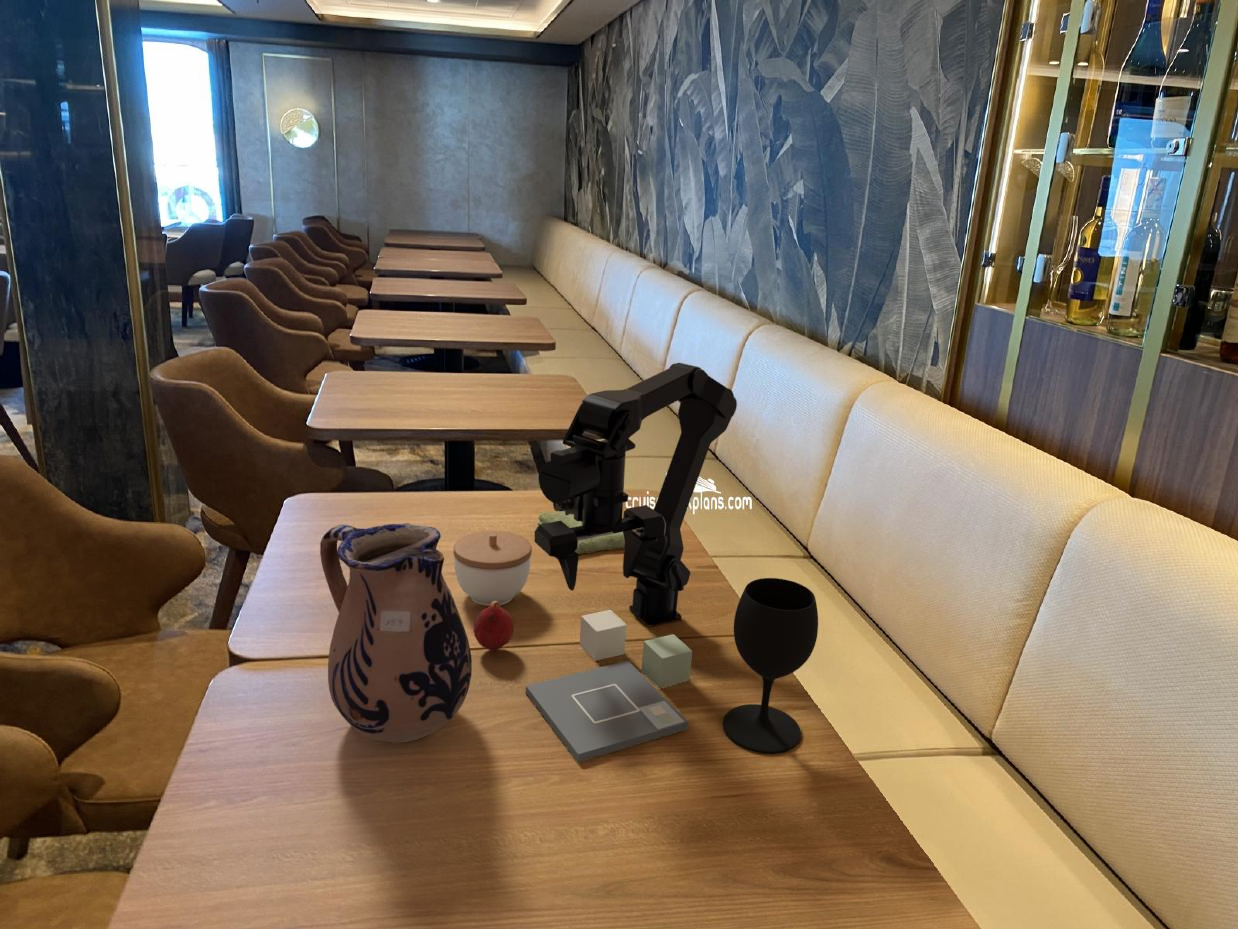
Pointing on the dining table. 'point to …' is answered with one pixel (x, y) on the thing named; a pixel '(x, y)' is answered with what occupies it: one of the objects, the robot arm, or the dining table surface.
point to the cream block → (602, 635)
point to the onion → (493, 627)
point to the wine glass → (771, 658)
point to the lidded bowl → (492, 565)
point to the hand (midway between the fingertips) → (599, 583)
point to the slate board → (605, 710)
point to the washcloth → (587, 544)
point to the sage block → (666, 660)
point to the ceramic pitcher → (394, 632)
